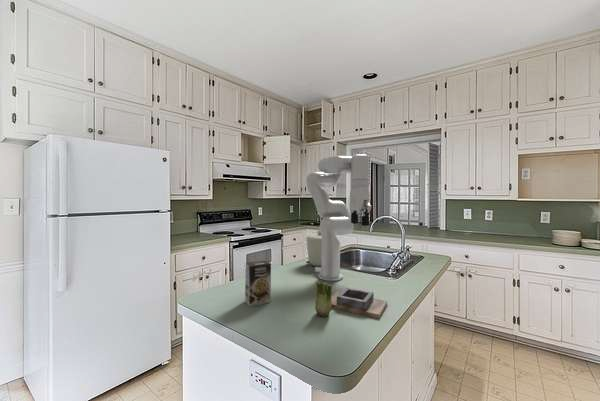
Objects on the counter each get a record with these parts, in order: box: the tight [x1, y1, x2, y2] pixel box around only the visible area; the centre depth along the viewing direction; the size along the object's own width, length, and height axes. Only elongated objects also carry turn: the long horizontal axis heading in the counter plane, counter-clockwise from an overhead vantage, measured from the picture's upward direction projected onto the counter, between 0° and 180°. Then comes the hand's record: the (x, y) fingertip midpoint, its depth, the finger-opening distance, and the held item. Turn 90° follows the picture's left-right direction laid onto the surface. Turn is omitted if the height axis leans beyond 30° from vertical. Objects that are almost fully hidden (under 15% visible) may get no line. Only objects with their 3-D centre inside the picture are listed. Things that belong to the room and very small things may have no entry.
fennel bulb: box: [314, 282, 332, 317], centre depth 106 cm, size 6×5×12 cm
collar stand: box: [331, 287, 388, 320], centre depth 115 cm, size 22×14×4 cm, turn 62°
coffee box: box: [244, 260, 272, 307], centre depth 117 cm, size 9×6×16 cm
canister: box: [305, 229, 322, 268], centre depth 174 cm, size 18×18×21 cm
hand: (359, 224), depth 123 cm, fingers open, 9 cm apart
